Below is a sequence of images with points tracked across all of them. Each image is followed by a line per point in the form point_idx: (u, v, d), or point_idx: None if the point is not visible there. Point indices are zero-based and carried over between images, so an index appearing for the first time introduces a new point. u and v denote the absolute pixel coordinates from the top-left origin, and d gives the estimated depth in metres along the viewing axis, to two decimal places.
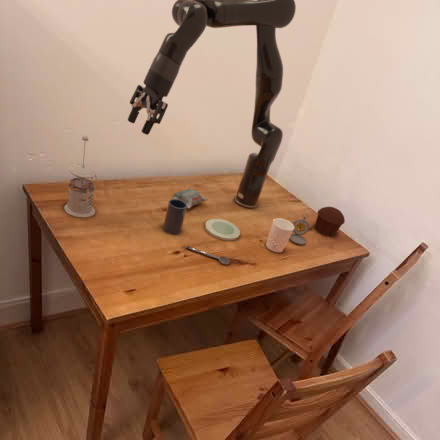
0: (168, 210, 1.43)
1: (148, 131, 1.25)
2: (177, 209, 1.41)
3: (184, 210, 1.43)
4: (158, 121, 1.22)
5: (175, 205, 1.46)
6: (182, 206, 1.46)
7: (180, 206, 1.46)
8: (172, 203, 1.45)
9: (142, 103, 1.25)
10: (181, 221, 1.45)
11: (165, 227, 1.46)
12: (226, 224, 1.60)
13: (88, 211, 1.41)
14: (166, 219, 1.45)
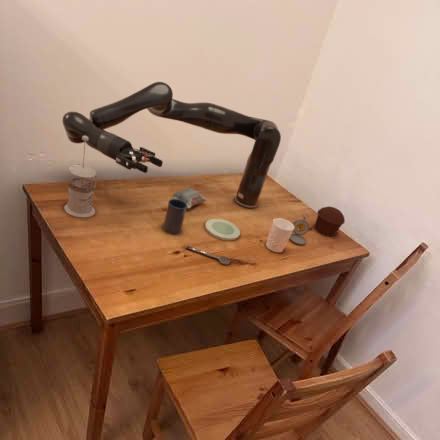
0: (168, 210, 1.43)
1: (142, 168, 1.36)
2: (177, 209, 1.41)
3: (184, 210, 1.43)
4: (128, 164, 1.36)
5: (175, 205, 1.46)
6: (182, 206, 1.46)
7: (180, 206, 1.46)
8: (172, 203, 1.45)
9: None
10: (181, 221, 1.45)
11: (165, 227, 1.46)
12: (226, 224, 1.60)
13: (88, 211, 1.41)
14: (166, 219, 1.45)
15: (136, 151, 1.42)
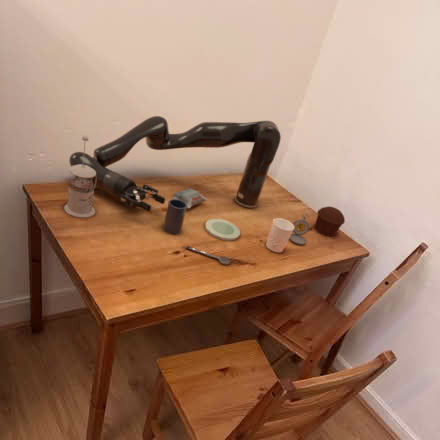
0: (168, 210, 1.43)
1: (146, 207, 1.43)
2: (177, 209, 1.41)
3: (184, 210, 1.43)
4: (133, 203, 1.42)
5: (175, 205, 1.46)
6: (182, 206, 1.46)
7: (180, 206, 1.46)
8: (172, 203, 1.45)
9: None
10: (181, 221, 1.45)
11: (165, 227, 1.46)
12: (226, 224, 1.60)
13: (88, 211, 1.41)
14: (166, 219, 1.45)
15: (140, 189, 1.49)
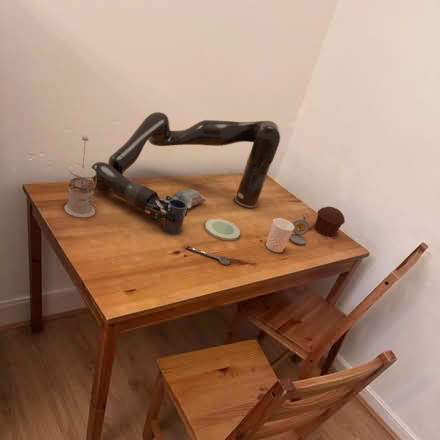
0: (168, 210, 1.43)
1: (171, 219, 1.42)
2: (177, 209, 1.41)
3: (184, 210, 1.43)
4: (158, 215, 1.41)
5: (175, 205, 1.46)
6: (182, 206, 1.46)
7: (180, 206, 1.46)
8: (172, 203, 1.45)
9: None
10: (181, 221, 1.45)
11: (165, 227, 1.46)
12: (226, 224, 1.60)
13: (88, 211, 1.41)
14: None
15: (162, 201, 1.47)
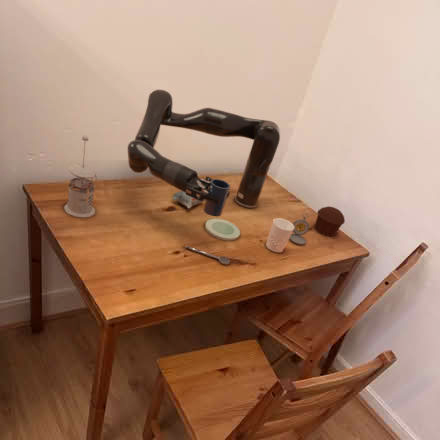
0: (210, 190, 1.35)
1: (214, 200, 1.34)
2: (220, 189, 1.33)
3: (227, 190, 1.35)
4: (201, 195, 1.33)
5: (217, 185, 1.38)
6: (224, 187, 1.38)
7: (222, 187, 1.39)
8: (214, 183, 1.37)
9: None
10: (223, 202, 1.37)
11: (206, 209, 1.39)
12: (226, 224, 1.60)
13: (88, 211, 1.41)
14: (207, 200, 1.37)
15: (203, 181, 1.39)
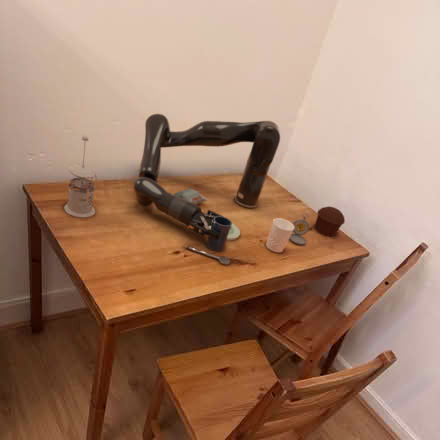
0: (213, 227, 1.42)
1: (215, 235, 1.40)
2: (222, 227, 1.40)
3: (229, 227, 1.42)
4: (202, 231, 1.39)
5: (219, 222, 1.45)
6: (226, 223, 1.45)
7: (224, 223, 1.45)
8: (216, 220, 1.44)
9: None
10: (225, 238, 1.44)
11: (209, 244, 1.45)
12: None
13: (88, 211, 1.41)
14: (210, 236, 1.44)
15: (206, 216, 1.45)
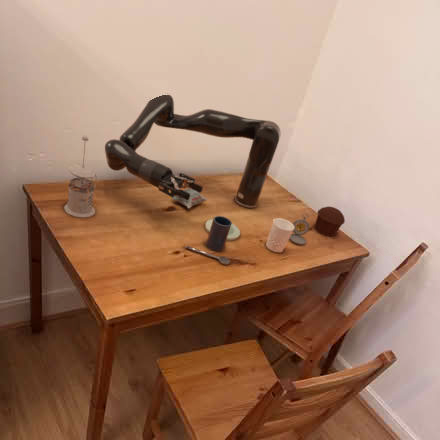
0: (213, 227, 1.42)
1: (184, 195, 1.39)
2: (222, 227, 1.40)
3: (229, 227, 1.42)
4: (171, 191, 1.39)
5: (219, 222, 1.45)
6: (226, 223, 1.45)
7: (224, 223, 1.45)
8: (216, 220, 1.44)
9: None
10: (225, 238, 1.44)
11: (209, 244, 1.45)
12: None
13: (88, 211, 1.41)
14: (210, 236, 1.44)
15: (177, 178, 1.45)
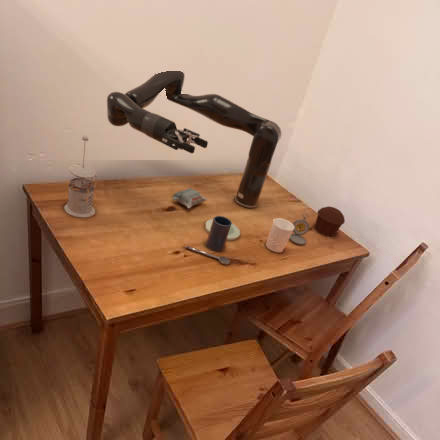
0: (213, 227, 1.42)
1: (189, 148, 1.34)
2: (222, 227, 1.40)
3: (229, 227, 1.42)
4: (175, 144, 1.33)
5: (219, 222, 1.45)
6: (226, 223, 1.45)
7: (224, 223, 1.45)
8: (216, 220, 1.44)
9: None
10: (225, 238, 1.44)
11: (209, 244, 1.45)
12: None
13: (88, 211, 1.41)
14: (210, 236, 1.44)
15: (181, 132, 1.39)
